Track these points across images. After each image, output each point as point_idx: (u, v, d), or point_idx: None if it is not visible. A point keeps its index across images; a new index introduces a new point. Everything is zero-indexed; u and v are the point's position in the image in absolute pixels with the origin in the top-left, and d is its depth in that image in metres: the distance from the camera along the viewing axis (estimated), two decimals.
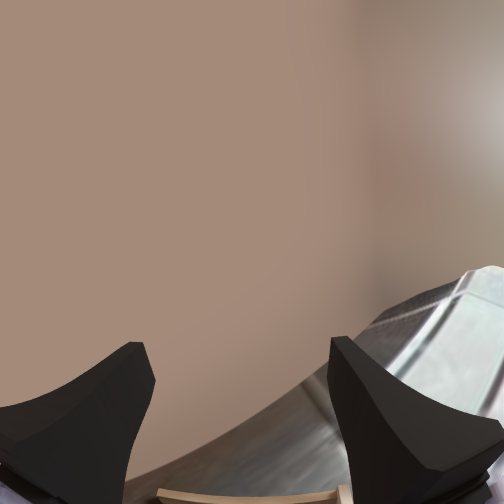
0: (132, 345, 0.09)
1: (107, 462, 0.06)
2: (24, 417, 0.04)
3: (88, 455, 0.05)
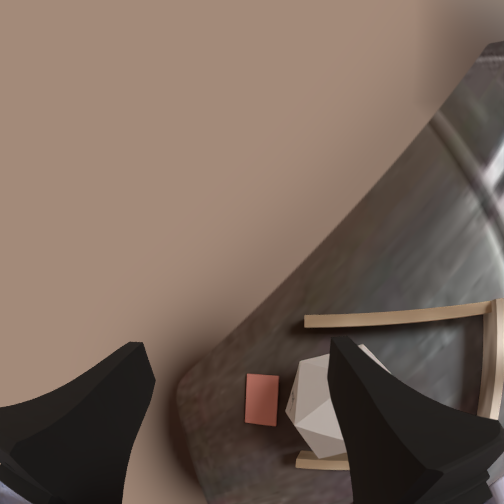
0: (132, 345, 0.09)
1: (107, 462, 0.06)
2: (25, 417, 0.04)
3: (88, 455, 0.05)
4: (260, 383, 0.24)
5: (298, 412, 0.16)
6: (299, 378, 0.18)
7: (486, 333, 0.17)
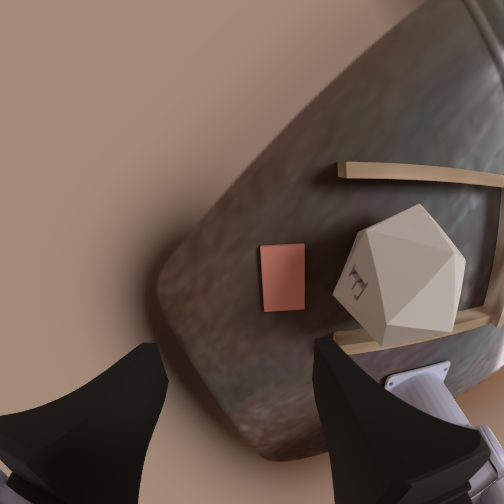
0: (146, 345, 0.09)
1: (123, 467, 0.06)
2: (39, 423, 0.04)
3: (105, 460, 0.05)
4: (280, 258, 0.19)
5: (387, 305, 0.13)
6: (374, 255, 0.14)
7: None
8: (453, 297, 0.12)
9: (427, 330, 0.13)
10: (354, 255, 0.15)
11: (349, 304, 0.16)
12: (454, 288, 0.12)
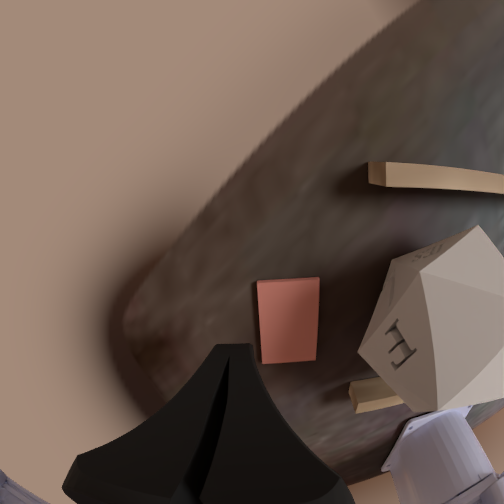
0: (223, 347, 0.09)
1: None
2: (144, 456, 0.04)
3: None
4: (285, 297, 0.14)
5: (442, 385, 0.07)
6: (430, 312, 0.08)
7: None
8: None
9: None
10: (397, 306, 0.09)
11: (382, 371, 0.10)
12: None
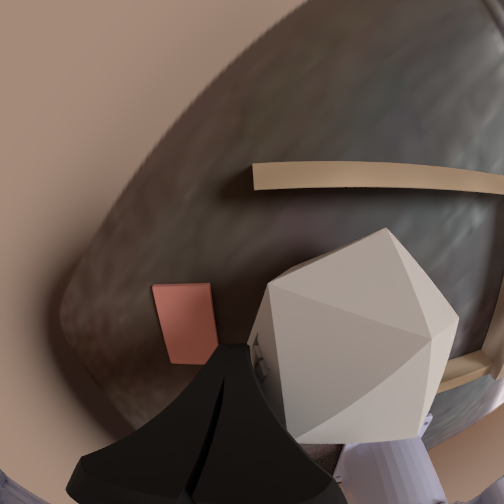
0: (226, 347, 0.09)
1: None
2: (149, 457, 0.04)
3: None
4: (179, 301, 0.14)
5: (292, 416, 0.07)
6: (276, 331, 0.08)
7: None
8: (422, 401, 0.06)
9: (370, 441, 0.07)
10: (256, 319, 0.10)
11: None
12: (425, 389, 0.06)
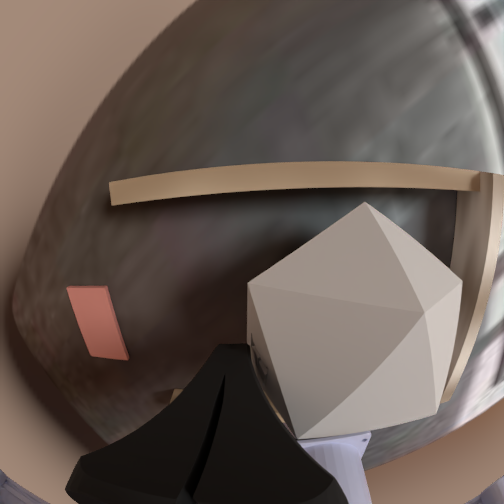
0: (225, 347, 0.09)
1: None
2: (148, 457, 0.04)
3: None
4: (86, 301, 0.14)
5: (295, 412, 0.07)
6: (264, 329, 0.08)
7: (463, 221, 0.12)
8: (432, 377, 0.06)
9: (386, 426, 0.07)
10: (248, 320, 0.09)
11: (261, 385, 0.10)
12: (432, 364, 0.06)
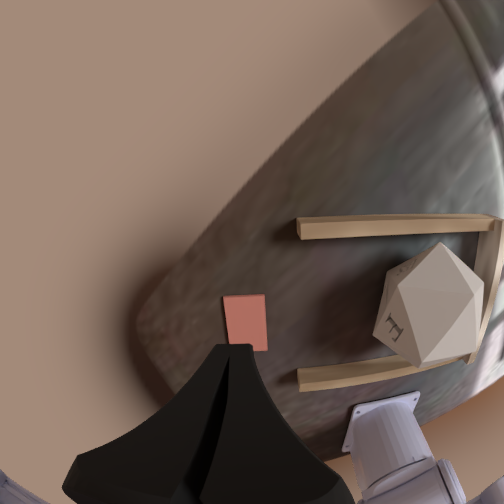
0: (223, 347, 0.09)
1: None
2: (144, 456, 0.04)
3: None
4: (242, 307, 0.21)
5: (421, 347, 0.14)
6: (406, 307, 0.15)
7: (482, 246, 0.18)
8: (475, 326, 0.13)
9: (455, 356, 0.13)
10: (389, 305, 0.16)
11: (388, 344, 0.17)
12: (475, 320, 0.13)
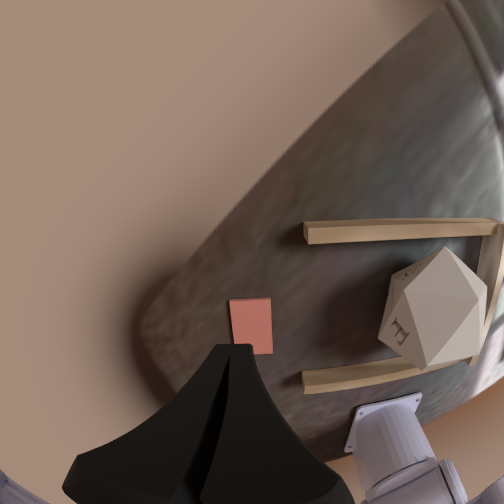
0: (223, 347, 0.09)
1: None
2: (144, 456, 0.04)
3: None
4: (248, 311, 0.21)
5: (426, 351, 0.14)
6: (412, 311, 0.14)
7: (485, 250, 0.18)
8: (478, 330, 0.13)
9: (459, 359, 0.13)
10: (395, 309, 0.16)
11: (393, 347, 0.17)
12: (479, 323, 0.13)
